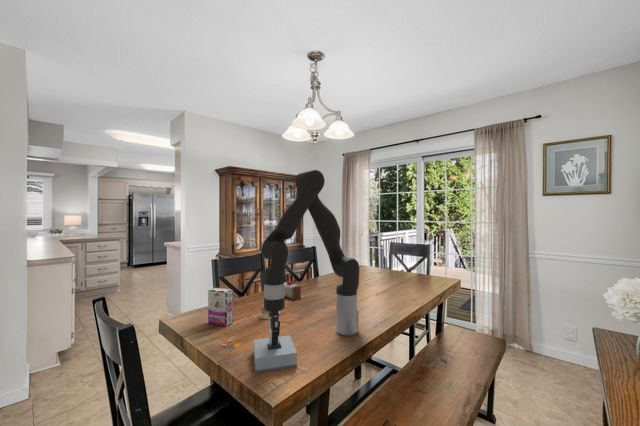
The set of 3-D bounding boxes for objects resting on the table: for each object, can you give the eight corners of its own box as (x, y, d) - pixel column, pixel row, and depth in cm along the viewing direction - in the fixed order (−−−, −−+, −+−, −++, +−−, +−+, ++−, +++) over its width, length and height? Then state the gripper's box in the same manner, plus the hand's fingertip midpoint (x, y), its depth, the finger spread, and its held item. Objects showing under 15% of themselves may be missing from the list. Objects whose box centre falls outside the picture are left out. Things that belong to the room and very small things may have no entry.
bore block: (290, 347, 110) (290, 335, 110) (297, 367, 96) (297, 352, 96) (253, 352, 106) (253, 339, 106) (255, 373, 92) (255, 358, 92)
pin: (278, 349, 103) (278, 317, 103) (279, 354, 100) (279, 321, 100) (268, 351, 102) (268, 318, 102) (269, 356, 99) (269, 322, 99)
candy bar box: (233, 323, 134) (233, 289, 134) (226, 327, 129) (226, 291, 129) (215, 319, 138) (215, 286, 138) (207, 323, 133) (207, 289, 133)
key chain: (244, 348, 110) (244, 346, 110) (225, 354, 106) (225, 351, 106) (233, 336, 120) (233, 334, 120) (216, 341, 116) (216, 339, 116)
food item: (279, 295, 177) (279, 280, 177) (289, 293, 183) (289, 278, 183) (292, 300, 167) (292, 284, 167) (303, 298, 173) (303, 282, 173)
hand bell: (277, 316, 143) (277, 285, 143) (264, 320, 137) (264, 288, 137) (268, 312, 149) (268, 282, 148) (254, 316, 142) (254, 285, 142)
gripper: (287, 300, 95) (287, 350, 95) (281, 289, 109) (281, 333, 109) (265, 302, 93) (265, 353, 93) (262, 291, 107) (262, 335, 107)
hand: (274, 342), depth 101 cm, fingers closed on pin, 3 cm apart
